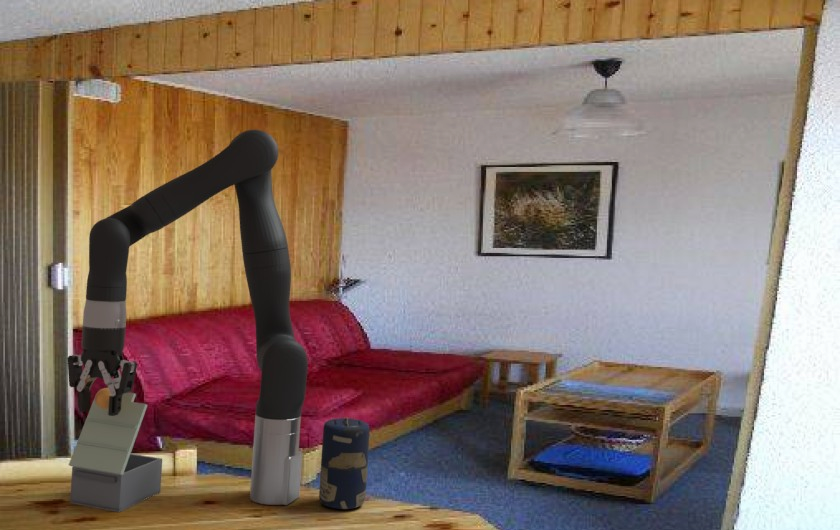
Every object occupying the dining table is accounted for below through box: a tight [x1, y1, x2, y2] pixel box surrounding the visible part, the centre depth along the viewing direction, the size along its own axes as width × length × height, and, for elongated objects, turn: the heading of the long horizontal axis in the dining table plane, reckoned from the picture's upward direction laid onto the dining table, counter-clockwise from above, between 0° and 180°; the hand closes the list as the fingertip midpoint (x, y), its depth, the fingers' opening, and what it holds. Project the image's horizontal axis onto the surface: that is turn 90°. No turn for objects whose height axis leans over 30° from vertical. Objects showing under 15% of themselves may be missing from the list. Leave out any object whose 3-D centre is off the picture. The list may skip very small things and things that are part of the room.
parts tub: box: [69, 453, 163, 513], centre depth 153 cm, size 11×14×7 cm
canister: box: [318, 416, 371, 510], centre depth 158 cm, size 10×10×18 cm
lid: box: [68, 387, 148, 475], centre depth 147 cm, size 12×15×7 cm
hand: (98, 412), depth 146 cm, fingers open, 6 cm apart
